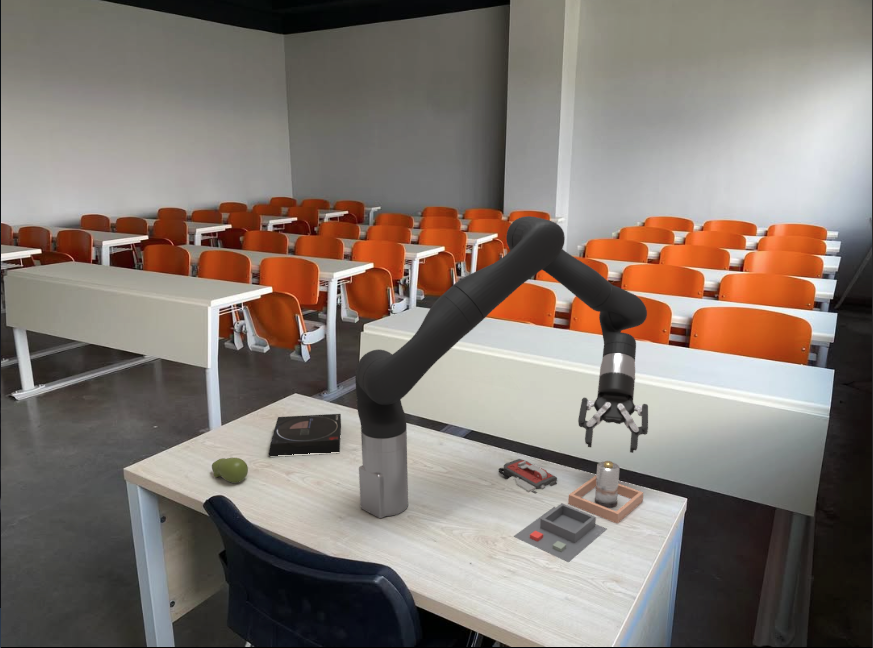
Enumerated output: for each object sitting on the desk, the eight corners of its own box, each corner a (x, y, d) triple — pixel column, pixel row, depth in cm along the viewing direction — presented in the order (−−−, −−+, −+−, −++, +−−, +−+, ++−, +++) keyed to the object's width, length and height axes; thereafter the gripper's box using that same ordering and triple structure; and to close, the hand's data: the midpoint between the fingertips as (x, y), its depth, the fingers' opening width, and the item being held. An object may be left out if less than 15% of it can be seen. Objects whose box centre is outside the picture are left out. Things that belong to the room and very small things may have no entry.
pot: (616, 530, 129) (617, 514, 128) (567, 510, 137) (568, 494, 136) (642, 507, 137) (643, 492, 136) (594, 489, 144) (595, 475, 143)
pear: (229, 465, 145) (203, 460, 151) (234, 488, 146) (208, 482, 152) (250, 455, 149) (223, 451, 155) (255, 477, 150) (228, 472, 156)
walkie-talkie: (490, 478, 151) (555, 516, 135) (491, 460, 149) (556, 496, 134) (519, 467, 156) (584, 502, 140) (519, 450, 154) (585, 483, 139)
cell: (610, 514, 134) (613, 470, 131) (590, 506, 137) (592, 463, 134) (620, 505, 137) (624, 462, 134) (601, 498, 140) (604, 455, 137)
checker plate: (568, 569, 118) (569, 552, 117) (513, 543, 125) (513, 526, 125) (606, 535, 128) (607, 519, 127) (553, 513, 135) (554, 498, 134)
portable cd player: (276, 430, 177) (275, 417, 176) (341, 427, 178) (340, 413, 177) (268, 459, 161) (267, 444, 160) (339, 454, 163) (338, 439, 162)
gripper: (583, 368, 144) (574, 438, 137) (651, 374, 140) (647, 446, 133) (584, 382, 150) (576, 450, 143) (650, 389, 146) (645, 459, 139)
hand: (610, 448), depth 138 cm, fingers open, 8 cm apart
